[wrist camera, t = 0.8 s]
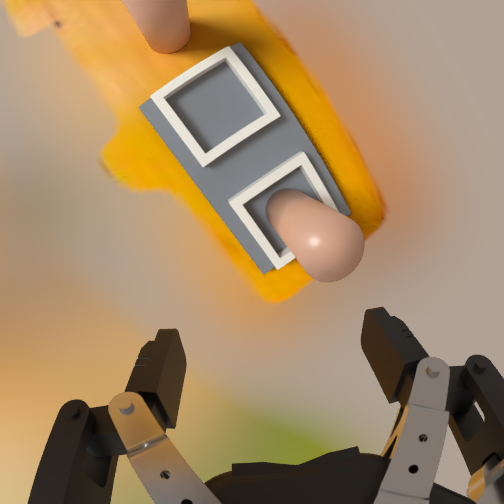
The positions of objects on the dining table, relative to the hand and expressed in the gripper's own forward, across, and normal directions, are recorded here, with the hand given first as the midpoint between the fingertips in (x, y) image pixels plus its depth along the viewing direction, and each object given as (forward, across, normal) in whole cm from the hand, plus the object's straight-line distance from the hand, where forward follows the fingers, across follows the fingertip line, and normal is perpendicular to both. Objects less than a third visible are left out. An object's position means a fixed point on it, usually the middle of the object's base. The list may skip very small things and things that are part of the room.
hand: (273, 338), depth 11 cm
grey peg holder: (+23, 0, -6) cm, 23 cm away
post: (+22, +8, -22) cm, 32 cm away
